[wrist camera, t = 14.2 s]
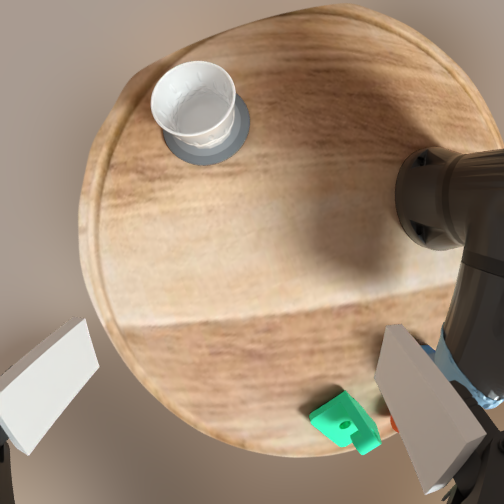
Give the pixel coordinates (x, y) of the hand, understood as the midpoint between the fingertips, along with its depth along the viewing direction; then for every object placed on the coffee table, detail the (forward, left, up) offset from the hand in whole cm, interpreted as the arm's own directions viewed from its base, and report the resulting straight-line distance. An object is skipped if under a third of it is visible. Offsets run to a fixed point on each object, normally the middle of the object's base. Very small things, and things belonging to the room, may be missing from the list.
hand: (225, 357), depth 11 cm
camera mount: (-18, +29, -26) cm, 43 cm away
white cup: (+4, -16, -25) cm, 30 cm away
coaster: (+4, -16, -25) cm, 30 cm away
